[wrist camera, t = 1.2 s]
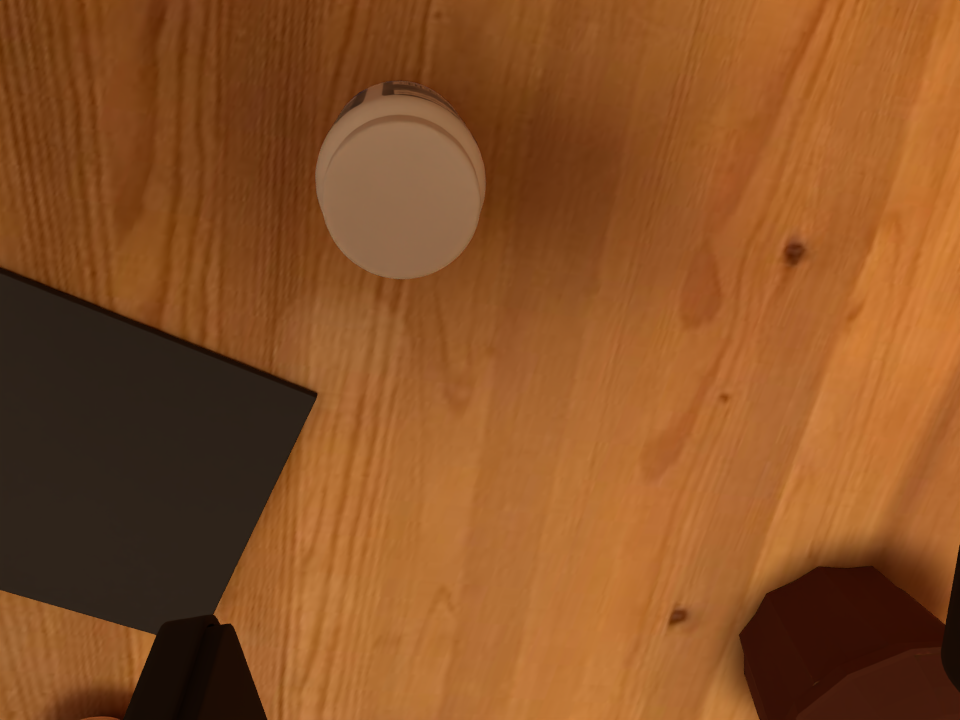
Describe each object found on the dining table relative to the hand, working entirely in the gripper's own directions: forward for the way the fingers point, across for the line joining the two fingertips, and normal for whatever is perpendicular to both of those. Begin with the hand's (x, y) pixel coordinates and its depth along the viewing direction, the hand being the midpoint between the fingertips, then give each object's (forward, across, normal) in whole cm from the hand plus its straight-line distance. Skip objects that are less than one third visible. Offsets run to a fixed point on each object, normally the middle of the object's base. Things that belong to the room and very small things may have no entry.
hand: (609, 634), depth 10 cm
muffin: (+20, -15, +23) cm, 34 cm away
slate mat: (+20, +17, +7) cm, 27 cm away
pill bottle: (+20, +2, -3) cm, 21 cm away
